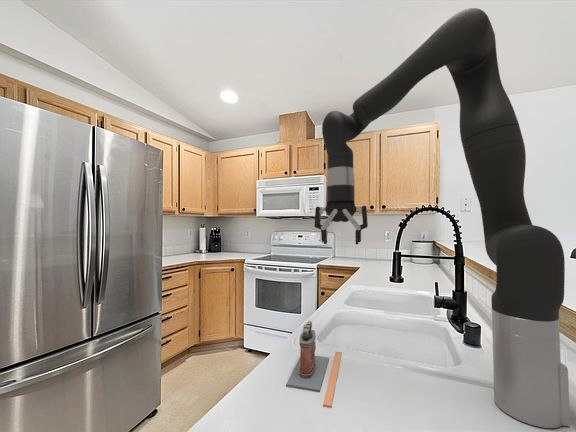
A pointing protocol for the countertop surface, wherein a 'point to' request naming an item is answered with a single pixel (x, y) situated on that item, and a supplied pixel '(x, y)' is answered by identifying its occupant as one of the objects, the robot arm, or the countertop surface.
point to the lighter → (307, 352)
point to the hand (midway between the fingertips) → (340, 244)
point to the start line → (332, 381)
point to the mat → (315, 380)
